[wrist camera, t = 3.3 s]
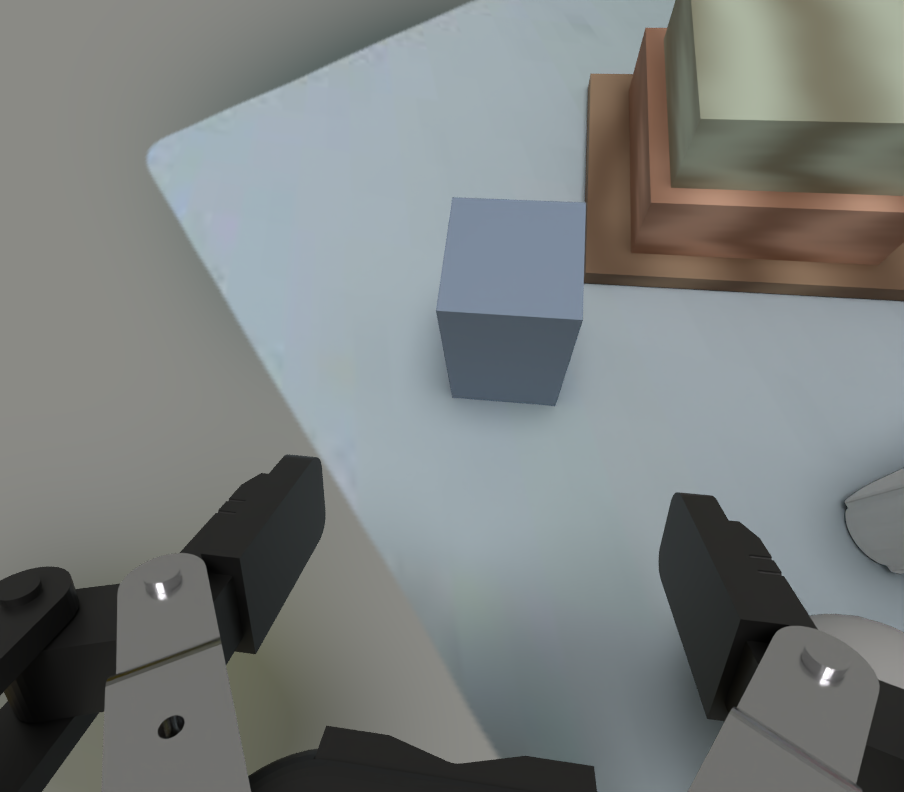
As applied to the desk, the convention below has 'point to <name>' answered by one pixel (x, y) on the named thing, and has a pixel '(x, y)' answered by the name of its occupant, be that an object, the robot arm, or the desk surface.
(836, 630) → the lightbulb
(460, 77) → the desk surface
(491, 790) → the robot arm
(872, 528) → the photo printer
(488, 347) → the slate brick
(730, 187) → the stepped tiered pedestal
